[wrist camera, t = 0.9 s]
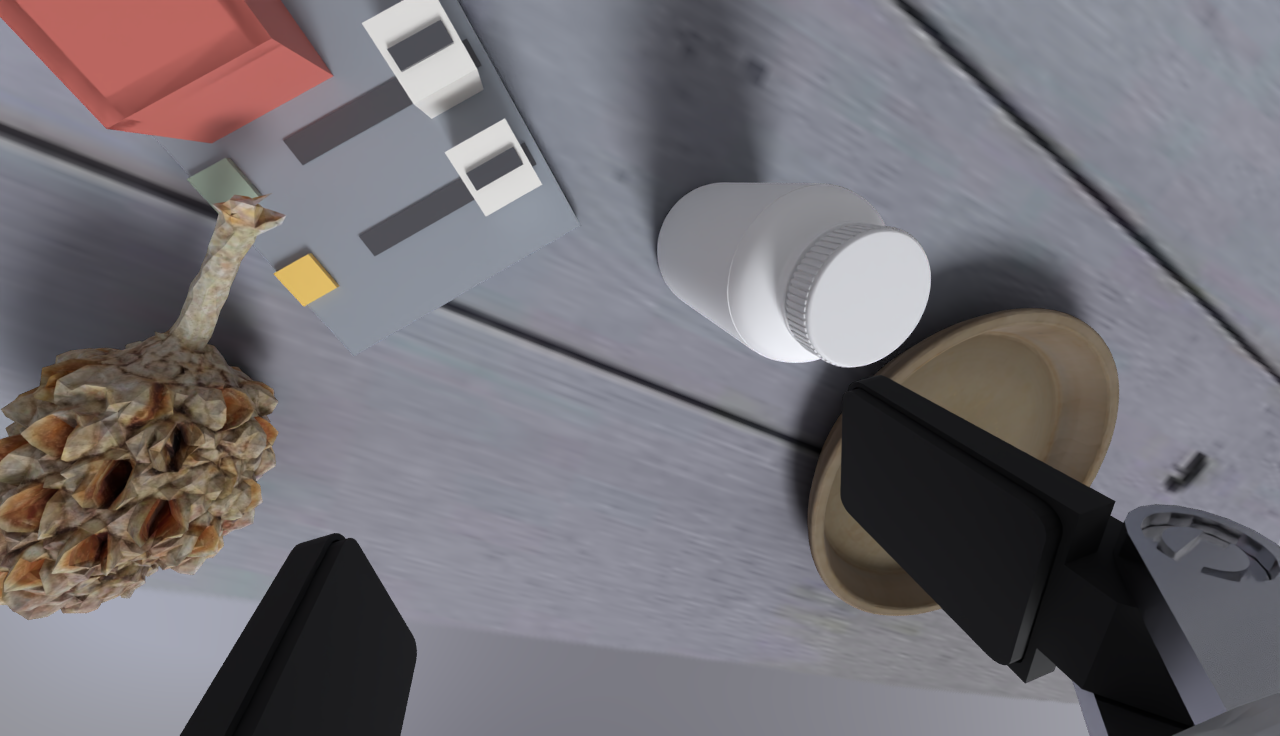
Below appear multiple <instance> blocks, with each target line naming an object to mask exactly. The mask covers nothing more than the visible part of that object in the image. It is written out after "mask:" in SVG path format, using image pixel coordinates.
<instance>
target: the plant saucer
mask: <svg viewBox="0 0 1280 736" xmlns="http://www.w3.org/2000/svg"><path fill="white" fill-rule="evenodd" d="M877 375H882V376H885V377H887V378H889V379H891V380H893V381H895V382H897V383H899V384H900V385H902V386H904V387H906V388H908V389H910V390H911V391H913V392H915V393H917V394H919V395H921V396H922V397H924V398H926V399H928V400H930V401H932V402H933V403H935V404H937V405H939V406H941V407H943V408H945V409H946V410H948V411H950V412H952V413H954V414H956V415H957V416H959V417H961V418H963V419H965V420H967V421H968V422H970V423H972V424H974V425H976V426H978V427H979V428H981V429H983V430H985V431H987V432H989V433H991V434H992V435H994V436H996V437H998V438H1000V439H1002V440H1003V441H1005V442H1007V443H1009V444H1011V445H1013V446H1014V447H1016V448H1018V449H1020V450H1022V451H1024V452H1025V453H1027V454H1029V455H1031V456H1033V457H1035V458H1036V459H1038V460H1040V461H1042V462H1044V463H1046V464H1048V465H1049V466H1051V467H1053V468H1055V469H1057V470H1059V471H1060V472H1062V473H1064V474H1066V475H1068V476H1070V477H1071V478H1073V479H1075V480H1077V481H1079V482H1081V483H1082V484H1084V485H1086V486H1088V487H1090V485H1091V484H1092V482H1093V480H1094V478H1095V477H1096V475H1097V473H1098V470H1099V468H1100V466H1101V464H1102V462H1103V460H1104V457H1105V455H1106V453H1107V450H1108V447H1109V445H1110V442H1111V439H1112V435H1113V431H1114V428H1115V423H1116V419H1117V412H1118V403H1119V381H1118V373H1117V369H1116V365H1115V362H1114V359H1113V357H1112V354H1111V352H1110V350H1109V348H1108V346H1107V345H1106V343H1105V342H1104V340H1103V339H1102V338H1101V336H1100V335H1099V334H1098V333H1097V332H1096V331H1095V330H1094V329H1093V328H1091V327H1090V326H1089V325H1088V324H1086V323H1085V322H1083V321H1081V320H1080V319H1078V318H1076V317H1074V316H1072V315H1069V314H1067V313H1063V312H1060V311H1056V310H1050V309H1043V308H1019V309H1010V310H1002V311H998V312H994V313H990V314H985V315H982V316H979V317H975V318H972V319H969V320H965V321H963V322H960V323H957V324H955V325H952V326H950V327H948V328H946V329H943V330H941V331H939V332H937V333H935V334H933V335H931V336H930V337H928V338H926V339H924V340H923V341H921V342H920V343H918V344H916V345H915V346H913V347H911V348H910V349H908V350H906V351H905V352H903V353H902V354H900V355H898V356H897V357H896V358H894V359H893V360H892V361H890V362H889V363H888V364H886V365H885V366H884V367H883V368H882V369H880V370H879V371H878V372H877V373H876V374H875V375H874V376H877ZM841 446H842V413H841V414H840V416H839V417H838V419H837V421H836V422H835V424H834V425H833V427H832V429H831V431H830V433H829V435H828V437H827V439H826V441H825V443H824V445H823V448H822V450H821V453H820V456H819V459H818V462H817V465H816V469H815V474H814V478H813V481H812V486H811V491H810V496H809V504H808V535H809V544H810V549H811V554H812V557H813V560H814V563H815V566H816V568H817V571H818V572H819V574H820V576H821V578H822V580H823V581H824V583H825V584H826V585H827V586H828V588H829V589H830V590H831V591H832V592H833V593H834V594H835V595H836V596H838V597H839V598H840V599H841V600H843V601H844V602H846V603H848V604H849V605H851V606H853V607H855V608H857V609H860V610H862V611H865V612H869V613H873V614H879V615H890V616H905V615H915V614H921V613H926V612H930V611H934V610H938V609H942V608H941V607H940V606H939V605H938V604H937V603H936V602H935V601H934V600H933V599H932V598H931V597H930V596H929V595H928V594H927V593H926V592H925V591H924V590H923V589H922V588H921V587H920V586H919V585H918V584H917V583H916V582H915V581H914V579H913V578H912V577H911V576H910V575H909V574H908V573H907V572H906V571H905V570H904V569H903V568H902V567H901V566H900V565H899V564H898V563H897V562H896V561H895V560H894V559H893V558H892V557H891V556H890V555H889V554H888V553H887V552H886V551H885V550H884V549H883V548H882V547H881V546H880V545H879V544H878V543H877V542H876V541H875V540H874V539H873V538H872V537H871V536H870V535H869V534H868V533H867V532H866V531H865V530H864V529H863V528H862V527H861V526H860V524H859V523H858V522H857V521H856V520H855V519H854V518H853V517H852V516H851V515H850V514H849V513H848V512H847V511H846V509H845V508H844V506H843V504H842V501H841V496H840V486H841Z"/></svg>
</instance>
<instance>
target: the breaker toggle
mask: <svg viewBox="0 0 1280 736" xmlns="http://www.w3.org/2000/svg"><path fill="white" fill-rule="evenodd" d="M445 154H446V155H447V157H448V159H449V160H450V162H451V163H452V165H453V166H454V168H455V169H456V171H457V173H458V174H459V176H460V177H461V179H462V180H463V182H464V183H465V185H466V187H467V188H468V190H469V191H470V193H471V194H472V196H473V198H474V199H475V201H476V202H477V204H478V205H479V207H480V208H481V210H482V212H483V213H484V215H485V216H488V215H490V214H492V213H493V212H495V211H497V210H499V209H500V208H502V207H504V206H506V205H507V204H509V203H511V202H513V201H514V200H516V199H518V198H520V197H521V196H523V195H525V194H527V193H528V192H530V191H532V190H534V189H535V188H537V187H539V186H541V185H542V183H541V181H540V180H539V178H538V176H537V174H536V172H535V171H534V169H533V167H532V165H531V164H530V162H529V160H528V158H527V156H526V155H525V153H524V151H523V149H522V148H521V146H520V144H519V142H518V141H517V139H516V137H515V135H514V133H513V132H512V130H511V128H510V126H509V125H508V123H507V121H506V119H505V118H504V119H503V120H501V121H499V122H497V123H496V124H494V125H492V126H490V127H489V128H487V129H485V130H483V131H481V132H480V133H478V134H476V135H474V136H473V137H471V138H469V139H467V140H465V141H464V142H462V143H460V144H458V145H457V146H455V147H453V148H451V149H450V150H448V151H446V152H445Z"/></svg>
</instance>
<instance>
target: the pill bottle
mask: <svg viewBox="0 0 1280 736" xmlns="http://www.w3.org/2000/svg"><path fill="white" fill-rule="evenodd" d="M657 257H658V264H659V268H660V271H661V274H662V277H663V279H664V281H665V282H666V284H667V286H668V287H669V288H670V289H671V291H672V292H673V293H674V294H675V295H676V296H677V297H678V298H679V299H680V300H682V301H683V302H685V303H686V304H687V305H689V306H690V307H692V308H693V309H695V310H696V311H697V312H699V313H700V314H702V315H703V316H705V317H706V318H707V319H709V320H710V321H712V322H713V323H715V324H716V325H717V326H719V327H720V328H722V329H723V330H725V331H726V332H727V333H729V334H730V335H732V336H733V337H735V338H736V339H737V340H739V341H740V342H742V343H743V344H745V345H746V346H747V347H749V348H750V349H752V350H753V351H755V352H757V353H758V354H760V355H762V356H764V357H767V358H769V359H772V360H776V361H782V362H791V363H801V362H810V361H814V360H818V359H822V360H824V361H826V362H828V363H830V364H832V365H836V366H841V367H858V366H864V365H868V364H871V363H873V362H876V361H878V360H880V359H882V358H884V357H885V356H887V355H889V354H890V353H891V352H893V351H894V350H895V349H897V348H898V347H899V346H900V345H901V344H902V343H903V342H904V341H905V340H906V339H907V338H908V336H909V335H910V334H911V333H912V331H913V330H914V328H915V327H916V325H917V324H918V322H919V320H920V318H921V316H922V314H923V312H924V310H925V307H926V304H927V301H928V297H929V293H930V286H931V272H930V265H929V261H928V258H927V256H926V253H925V251H924V250H923V248H922V247H921V245H920V243H919V242H917V240H916V239H915V238H913V236H912V235H911V234H908V233H907V232H906V231H903V230H901V229H897V228H895V227H889V226H886V225H885V223H884V221H883V220H882V218H881V216H880V215H879V213H878V212H877V211H876V210H875V208H874V207H873V206H872V205H871V204H870V203H869V202H868V201H866V200H865V199H864V198H862V197H861V196H859V195H858V194H856V193H854V192H853V191H851V190H849V189H846V188H844V187H841V186H837V185H831V184H821V183H728V182H721V183H712V184H708V185H705V186H701V187H699V188H696V189H694V190H692V191H691V192H689V193H688V194H686V195H685V196H683V197H682V198H681V199H680V200H679V201H678V202H677V203H676V204H675V205H674V206H673V207H672V209H671V210H670V212H669V213H668V215H667V216H666V218H665V220H664V222H663V225H662V227H661V230H660V233H659V238H658V245H657Z"/></svg>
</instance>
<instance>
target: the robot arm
mask: <svg viewBox="0 0 1280 736" xmlns="http://www.w3.org/2000/svg"><path fill="white" fill-rule="evenodd" d="M840 496H841V501H842V504H843V506H844V508H845V509H846V511H847V512H848V513H849V514H850V515H851V516H852V517H853V518H854V519H855V520H856V521H857V522H858V523H859V524H860V526H861V527H862V528H863V529H864V530H865V531H866V532H867V533H868V534H869V535H870V536H871V537H872V538H873V539H874V540H875V541H876V542H877V543H878V544H879V545H880V546H881V547H882V548H883V549H884V550H885V551H886V552H887V553H888V554H889V555H890V556H891V557H892V558H893V559H894V560H895V561H896V562H897V563H898V564H899V565H900V566H901V567H902V568H903V569H904V570H905V571H906V572H907V573H908V574H909V575H910V576H911V577H912V578H913V579H914V581H915V582H916V583H917V584H918V585H919V586H920V587H921V588H922V589H923V590H924V591H925V592H926V593H927V594H928V595H929V596H930V597H931V598H932V599H933V600H934V601H935V602H936V603H937V604H938V605H939V606H940V607H941V608H942V609H943V610H944V611H945V612H946V613H947V614H948V615H949V616H950V617H951V618H952V619H953V620H954V621H955V622H956V623H957V624H958V625H959V626H960V627H961V628H962V629H963V630H964V631H965V632H966V633H967V634H968V635H969V637H970V638H971V639H972V640H973V641H974V642H975V643H976V644H977V645H978V646H979V647H980V648H981V649H982V650H983V651H984V652H985V653H986V654H987V655H988V656H989V657H991V658H992V659H993V660H994V661H996V662H997V663H999V664H1002V665H1007V666H1008V667H1009V668H1010V669H1011V670H1012V671H1013V672H1014V673H1015V674H1016V675H1017V676H1018V677H1019V678H1020V679H1021V680H1022V681H1023V682H1024V683H1027V682H1030V681H1032V680H1034V679H1037V678H1039V677H1041V676H1044V675H1046V674H1048V673H1050V672H1053V671H1054V670H1055V667H1056V666H1057V667H1058V668H1059V669H1060V670H1061V671H1062V672H1064V673H1065V674H1066V675H1067V676H1068V677H1069V678H1070V679H1071V680H1072V682H1073V685H1074V688H1075V691H1076V694H1077V697H1078V700H1079V704H1080V707H1081V710H1082V713H1083V716H1084V719H1085V722H1086V725H1087V728H1088V732H1089V735H1090V736H1280V546H1279V545H1277V544H1276V543H1274V542H1273V541H1271V540H1269V539H1268V538H1266V537H1265V536H1263V535H1261V534H1260V533H1258V532H1256V531H1255V530H1253V529H1250V528H1248V527H1246V526H1244V525H1241V524H1239V523H1237V522H1234V521H1232V520H1230V519H1228V518H1224V517H1221V516H1218V515H1215V514H1212V513H1209V512H1206V511H1202V510H1198V509H1193V508H1187V507H1182V506H1177V505H1161V504H1154V505H1147V506H1140V507H1138V508H1136V509H1134V510H1132V511H1130V512H1129V513H1128V515H1127V517H1126V519H1125V521H1124V523H1122V522H1121V521H1119V520H1117V519H1115V518H1114V517H1112V516H1110V515H1111V512H1112V509H1113V507H1114V504H1115V501H1114V500H1112V499H1110V498H1108V497H1106V496H1105V495H1103V494H1101V493H1099V492H1097V491H1095V490H1094V489H1092V488H1090V487H1088V486H1086V485H1084V484H1082V483H1081V482H1079V481H1077V480H1075V479H1073V478H1071V477H1070V476H1068V475H1066V474H1064V473H1062V472H1060V471H1059V470H1057V469H1055V468H1053V467H1051V466H1049V465H1048V464H1046V463H1044V462H1042V461H1040V460H1038V459H1036V458H1035V457H1033V456H1031V455H1029V454H1027V453H1025V452H1024V451H1022V450H1020V449H1018V448H1016V447H1014V446H1013V445H1011V444H1009V443H1007V442H1005V441H1003V440H1002V439H1000V438H998V437H996V436H994V435H992V434H991V433H989V432H987V431H985V430H983V429H981V428H979V427H978V426H976V425H974V424H972V423H970V422H968V421H967V420H965V419H963V418H961V417H959V416H957V415H956V414H954V413H952V412H950V411H948V410H946V409H945V408H943V407H941V406H939V405H937V404H935V403H933V402H932V401H930V400H928V399H926V398H924V397H922V396H921V395H919V394H917V393H915V392H913V391H911V390H910V389H908V388H906V387H904V386H902V385H900V384H899V383H897V382H895V381H893V380H891V379H889V378H887V377H885V376H882V375H877V376H873V377H870V378H866V379H863V380H859V381H856V382H853V383H852V384H850V386H849V388H848V392H846V393H845V394H844V396H843V406H842V446H841V486H840ZM416 657H417V649H416V642H415V639H414V637H413V635H412V633H411V632H410V630H409V628H408V626H407V625H406V623H405V621H404V620H403V618H402V616H401V615H400V613H399V611H398V610H397V608H396V606H395V605H394V603H393V601H392V600H391V598H390V596H389V595H388V593H387V591H386V589H385V588H384V586H383V584H382V583H381V581H380V579H379V578H378V576H377V574H376V573H375V571H374V569H373V568H372V566H371V564H370V563H369V561H368V559H367V558H366V556H365V554H364V553H363V551H362V549H361V547H360V546H359V544H358V543H357V541H356V540H355V539H353V538H348V539H345V537H344V536H342V535H341V534H339V533H334V534H330V535H327V536H323V537H320V538H317V539H313V540H310V541H306V542H303V543H300V544H298V545H296V546H295V547H294V548H293V550H292V551H291V553H290V554H289V556H288V558H287V559H286V561H285V562H284V564H283V566H282V567H281V569H280V571H279V572H278V574H277V576H276V577H275V579H274V581H273V582H272V584H271V586H270V587H269V589H268V591H267V592H266V594H265V596H264V597H263V599H262V601H261V602H260V604H259V605H258V607H257V609H256V611H255V612H254V614H253V616H252V617H251V619H250V620H249V622H248V624H247V625H246V627H245V629H244V631H243V632H242V634H241V635H240V637H239V639H238V640H237V642H236V644H235V645H234V647H233V649H232V650H231V652H230V653H229V655H228V657H227V658H226V660H225V662H224V663H223V665H222V667H221V668H220V670H219V672H218V673H217V675H216V677H215V678H214V680H213V682H212V683H211V685H210V687H209V688H208V690H207V692H206V693H205V695H204V696H203V698H202V700H201V701H200V703H199V705H198V706H197V708H196V710H195V711H194V713H193V715H192V716H191V718H190V720H189V721H188V723H187V725H186V726H185V728H184V730H183V731H182V733H181V734H180V736H400V734H401V730H402V725H403V720H404V715H405V711H406V706H407V701H408V697H409V692H410V687H411V682H412V677H413V672H414V668H415V663H416Z"/></svg>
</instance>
